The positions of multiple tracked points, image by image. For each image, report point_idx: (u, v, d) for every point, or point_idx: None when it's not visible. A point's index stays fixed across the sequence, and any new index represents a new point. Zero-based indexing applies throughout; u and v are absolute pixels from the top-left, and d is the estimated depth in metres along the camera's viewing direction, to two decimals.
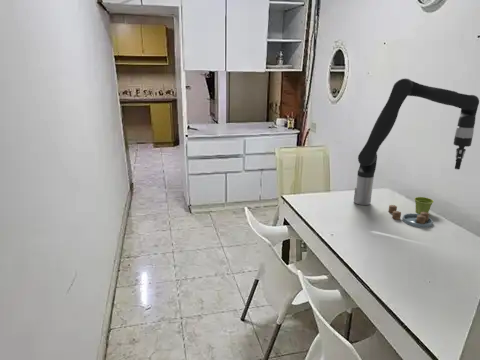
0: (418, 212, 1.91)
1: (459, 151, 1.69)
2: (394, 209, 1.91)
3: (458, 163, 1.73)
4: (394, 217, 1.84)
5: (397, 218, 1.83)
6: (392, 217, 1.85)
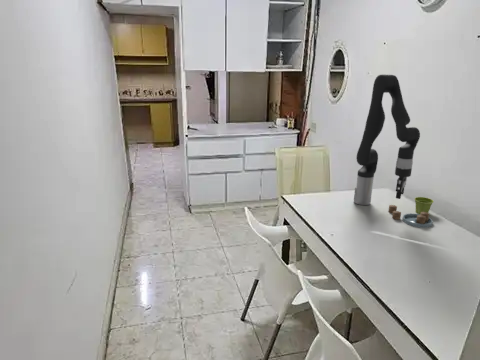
0: (418, 212, 1.91)
1: (398, 182, 1.73)
2: (394, 209, 1.91)
3: None
4: (394, 217, 1.84)
5: (397, 218, 1.83)
6: (392, 217, 1.85)
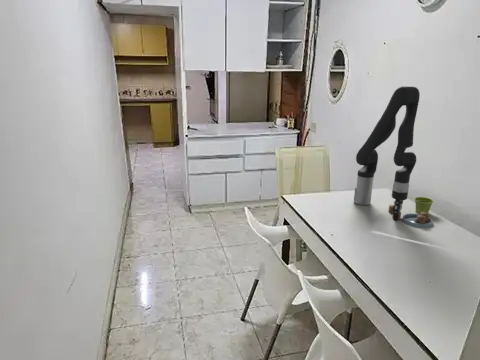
0: (418, 212, 1.91)
1: (395, 207, 1.78)
2: None
3: None
4: None
5: None
6: (392, 217, 1.85)
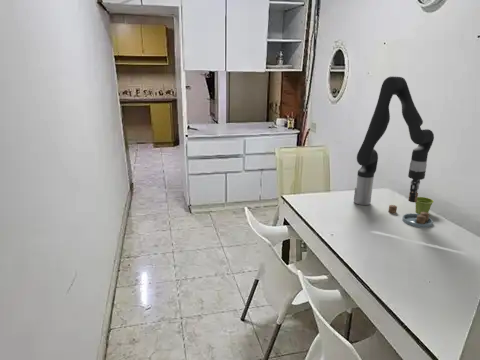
0: (418, 212, 1.91)
1: (412, 187, 1.72)
2: (394, 209, 1.91)
3: None
4: None
5: None
6: (409, 198, 1.79)
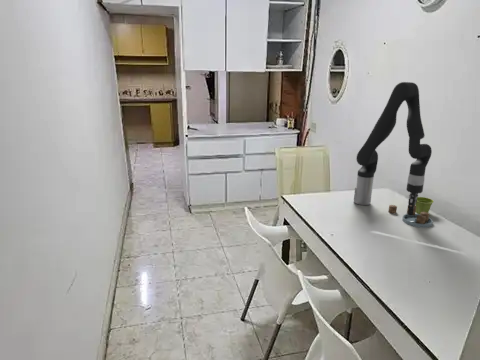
0: (418, 212, 1.91)
1: (410, 201, 1.74)
2: (394, 209, 1.91)
3: None
4: None
5: None
6: (407, 211, 1.81)
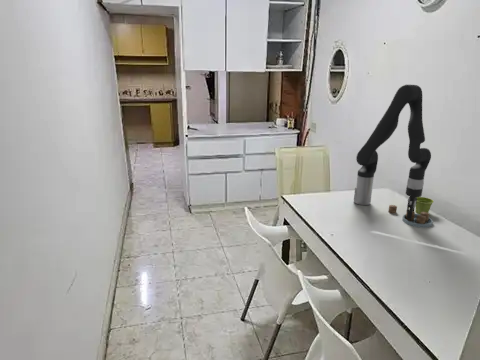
0: (418, 212, 1.91)
1: (409, 202, 1.74)
2: (394, 209, 1.91)
3: (409, 213, 1.78)
4: None
5: (411, 218, 1.81)
6: (406, 217, 1.83)
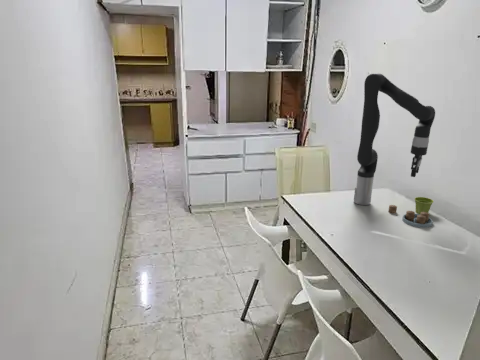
0: (418, 212, 1.91)
1: (414, 160, 1.76)
2: (394, 209, 1.91)
3: None
4: (408, 217, 1.81)
5: (411, 218, 1.81)
6: (406, 217, 1.83)
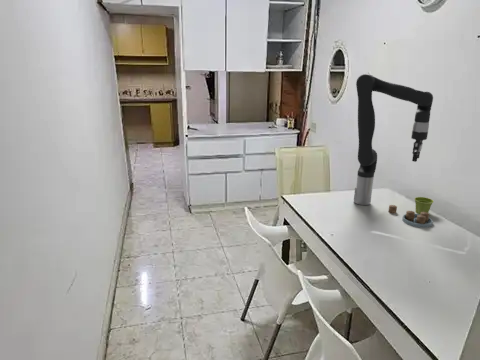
0: (418, 212, 1.91)
1: (415, 144, 1.81)
2: (394, 209, 1.91)
3: None
4: (408, 217, 1.81)
5: (411, 218, 1.81)
6: (406, 217, 1.83)
